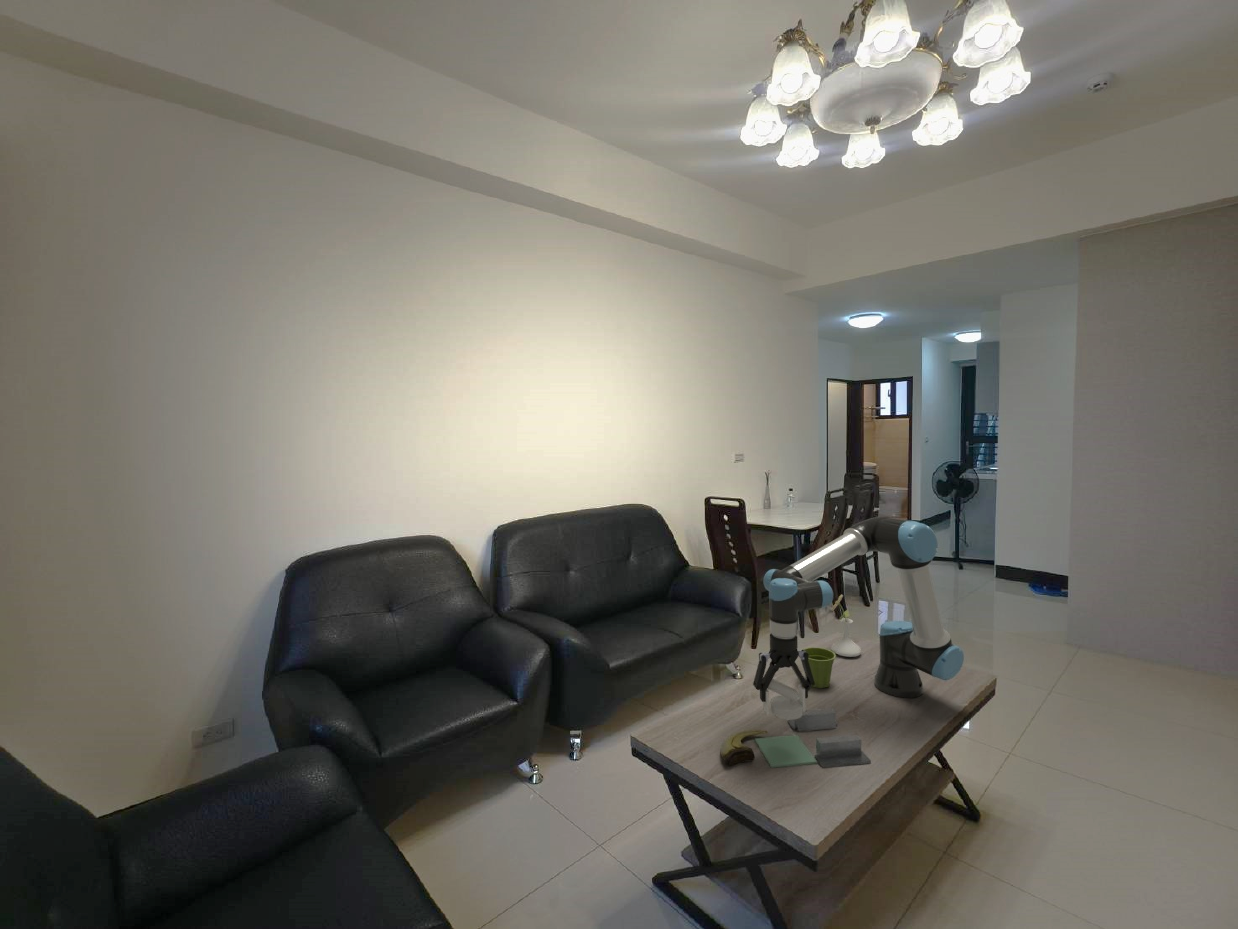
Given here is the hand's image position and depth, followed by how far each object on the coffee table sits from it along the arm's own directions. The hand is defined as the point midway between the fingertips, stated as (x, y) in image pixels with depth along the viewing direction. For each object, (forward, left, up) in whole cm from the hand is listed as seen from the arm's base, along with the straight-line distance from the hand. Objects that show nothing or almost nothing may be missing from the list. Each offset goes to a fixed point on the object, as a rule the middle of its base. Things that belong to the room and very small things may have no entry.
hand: (784, 710), depth 153 cm
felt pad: (0, 0, -12) cm, 12 cm away
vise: (-14, -3, -12) cm, 19 cm away
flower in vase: (-50, -59, -12) cm, 78 cm away
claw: (+11, -2, -12) cm, 17 cm away
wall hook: (0, 0, 0) cm, 0 cm away
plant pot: (-28, -37, -12) cm, 48 cm away
